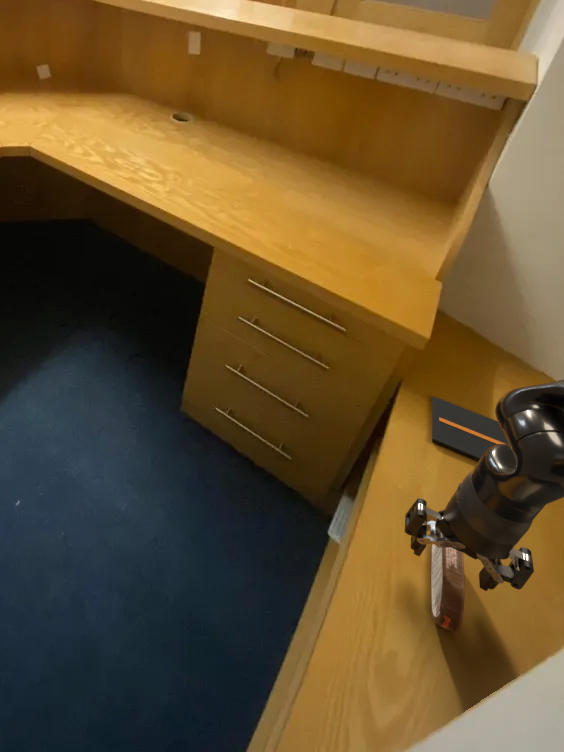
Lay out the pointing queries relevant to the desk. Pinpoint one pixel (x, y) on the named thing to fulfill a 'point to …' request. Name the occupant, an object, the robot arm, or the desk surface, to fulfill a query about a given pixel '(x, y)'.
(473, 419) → the mat
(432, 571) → the tin
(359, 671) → the desk surface
